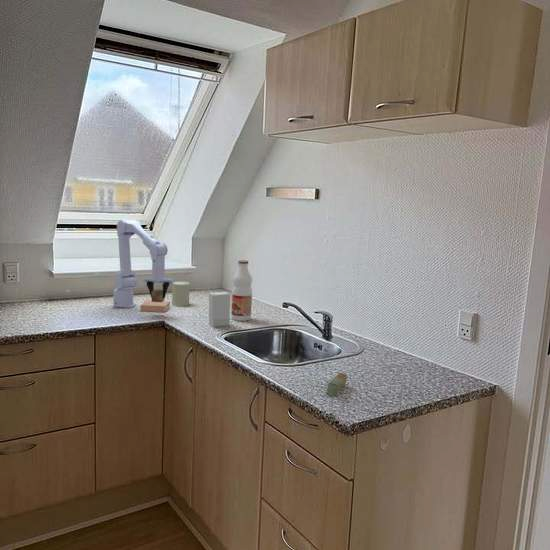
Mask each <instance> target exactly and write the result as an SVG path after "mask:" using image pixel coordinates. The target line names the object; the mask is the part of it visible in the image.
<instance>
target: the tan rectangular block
mask: <svg viewBox="0 0 550 550" xmlns="http://www.w3.org/2000/svg"><path fill="white" fill-rule="evenodd" d="M139 305H140V312H147V311H155V312H156V313H166V312H165V311H166V310H167V309H168V308H169V307H170V308H171V301H167V300H166V301H165V300H164V301H163V302H152V300H146V301H144V302H142V303H141V304H139ZM170 308H169V309H170ZM169 309H168V310H169ZM168 310H167V311H168ZM155 312H154V313H155Z"/></svg>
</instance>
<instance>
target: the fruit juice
mask: <svg viewBox="0 0 550 550" xmlns="http://www.w3.org/2000/svg"><path fill="white" fill-rule="evenodd" d="M237 265H238V266H237V267H238V268H237V270H236V273H235V274H234V275H233V277H232V283H233V287H232V290H231V311H230V313H231V314H230V319H232V320H233V321H236V320H237V321H238V322H246V321H247V320H248V321H250V320H251V319H252V304H253V303H252V300H253V299H252V297H253V289H252V282H253V277H252V275H251V274H250V272H249V269H248V268H249V267H248V265H249V260H245V259H240V260H238V261H237Z"/></svg>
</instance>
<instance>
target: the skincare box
mask: <svg viewBox="0 0 550 550" xmlns="http://www.w3.org/2000/svg"><path fill="white" fill-rule="evenodd" d="M230 302H231V294H230V293H229V292H227V291H216V292H209V293H208V325H209V326H210V327H212V328H218V327H227V326H229V327H230V323H231V322H230V320H231V314H230V313H231V311H230V310H231V309H230V307H231V303H230Z"/></svg>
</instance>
